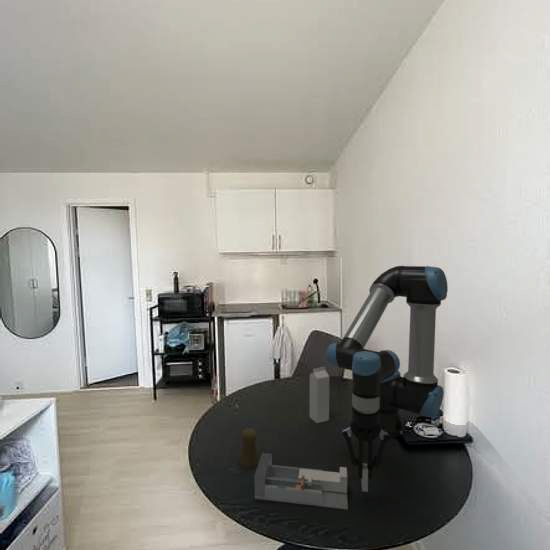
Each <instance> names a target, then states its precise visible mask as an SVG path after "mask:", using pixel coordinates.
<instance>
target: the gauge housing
mask: <svg viewBox="0 0 550 550" xmlns="http://www.w3.org/2000/svg"><path fill="white" fill-rule="evenodd" d="M272 458H273V457H272V453H270V452H268V453H266V452H262V453H261V456H260V458H259V460H258V464H257V466H256V471H255V473H254V499H255V500H261V501H263V500H264V501H271V502H280V503H286V504H287V503H288V504H296V505H306V506H313V507H322V508H323V507H324V508H332V509H339V510H340V509H342V510H348V509H349V505H348V504H349V503H348V492H347V493H341V492H332V491H323V490H322V482H312V485H311V486H308V481H305V489H301V488H296V484H298V485H301V480H298V477H299V470H300V469H308V470H318V471H324V470H323V469H318V468H317V469H315V468H306V467H298V466H297V467H296V466H286V465H276V464H272V462H273V461H272Z"/></svg>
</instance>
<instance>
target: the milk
mask: <svg viewBox="0 0 550 550" xmlns="http://www.w3.org/2000/svg"><path fill="white" fill-rule="evenodd" d="M309 418H310V419H311V420H312V421H313V422H315V423H316V424H320V423H324V422H328V421H330V375H329V374H328V372H327V370H326V366H321V367H317V368H313V370H312V372H311V373H310V374H309Z"/></svg>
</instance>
